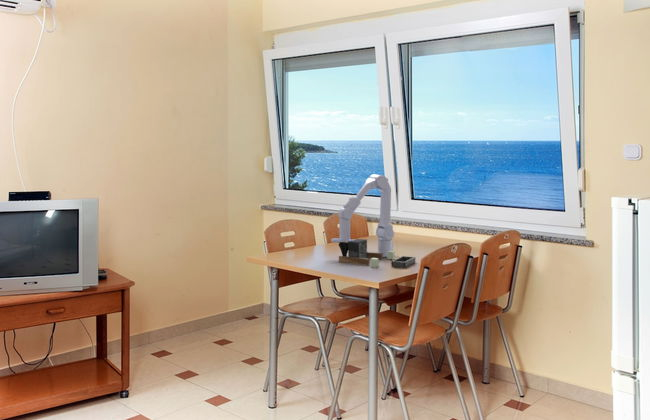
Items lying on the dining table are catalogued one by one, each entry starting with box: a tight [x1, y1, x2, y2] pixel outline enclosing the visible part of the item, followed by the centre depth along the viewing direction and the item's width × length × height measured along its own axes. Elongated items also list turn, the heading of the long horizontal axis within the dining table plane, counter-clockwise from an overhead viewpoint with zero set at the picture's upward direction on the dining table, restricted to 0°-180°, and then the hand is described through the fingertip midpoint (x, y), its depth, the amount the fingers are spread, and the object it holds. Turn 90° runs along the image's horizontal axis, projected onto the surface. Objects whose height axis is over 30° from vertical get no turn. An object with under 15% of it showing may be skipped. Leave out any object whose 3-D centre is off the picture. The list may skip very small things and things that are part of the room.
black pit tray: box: [390, 255, 416, 269], centre depth 315 cm, size 16×7×3 cm, turn 154°
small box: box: [347, 238, 368, 258], centre depth 326 cm, size 11×6×10 cm, turn 152°
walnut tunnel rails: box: [338, 251, 384, 266], centre depth 325 cm, size 20×16×3 cm
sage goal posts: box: [370, 250, 396, 268], centre depth 320 cm, size 26×3×4 cm, turn 154°
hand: (344, 256), depth 330 cm, fingers closed
